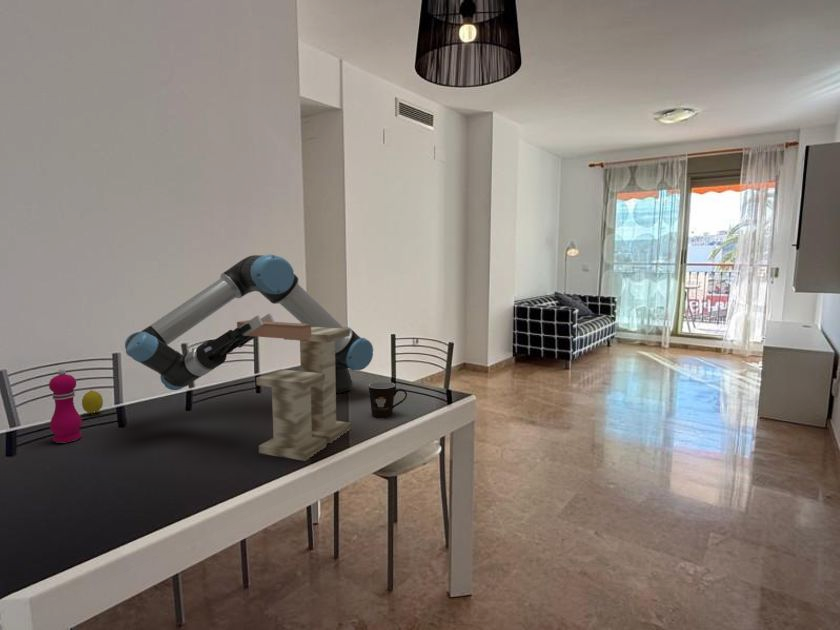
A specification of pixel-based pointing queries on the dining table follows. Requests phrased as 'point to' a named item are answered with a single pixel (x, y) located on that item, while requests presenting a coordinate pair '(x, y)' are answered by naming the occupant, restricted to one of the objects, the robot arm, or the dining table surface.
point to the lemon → (92, 402)
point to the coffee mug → (383, 398)
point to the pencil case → (281, 330)
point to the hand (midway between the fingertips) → (266, 319)
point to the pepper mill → (64, 408)
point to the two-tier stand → (305, 399)
